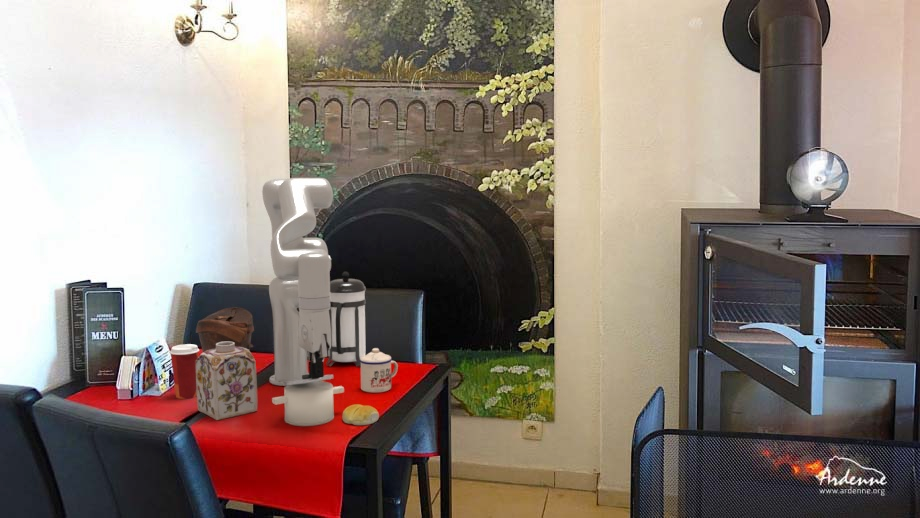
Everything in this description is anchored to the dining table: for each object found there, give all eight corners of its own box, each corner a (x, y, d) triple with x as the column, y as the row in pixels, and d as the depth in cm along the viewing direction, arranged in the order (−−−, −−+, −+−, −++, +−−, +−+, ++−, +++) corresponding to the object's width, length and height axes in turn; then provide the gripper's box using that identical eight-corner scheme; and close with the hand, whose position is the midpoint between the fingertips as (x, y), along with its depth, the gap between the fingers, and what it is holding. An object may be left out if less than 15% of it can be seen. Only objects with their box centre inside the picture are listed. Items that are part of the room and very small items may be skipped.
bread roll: (356, 413, 195) (356, 398, 194) (383, 419, 190) (383, 404, 189) (334, 422, 188) (334, 406, 187) (362, 428, 183) (362, 412, 182)
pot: (265, 418, 190) (264, 387, 189) (332, 405, 200) (331, 376, 200) (283, 432, 180) (283, 399, 179) (353, 417, 190) (352, 386, 190)
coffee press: (313, 362, 248) (311, 271, 245) (356, 355, 257) (354, 267, 254) (337, 373, 234) (335, 277, 231) (382, 365, 243) (381, 273, 240)
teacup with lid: (371, 395, 210) (371, 354, 209) (354, 388, 217) (353, 348, 216) (406, 387, 218) (406, 347, 217) (388, 380, 225) (387, 342, 224)
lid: (276, 385, 191) (275, 378, 191) (321, 378, 198) (320, 371, 198) (294, 385, 181) (293, 377, 181) (341, 377, 188) (340, 370, 188)
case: (204, 376, 230) (202, 318, 228) (191, 363, 247) (189, 308, 245) (262, 369, 239) (261, 313, 237) (246, 357, 256) (245, 305, 254)
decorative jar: (238, 401, 205) (236, 336, 203) (259, 411, 196) (256, 343, 194) (195, 411, 197) (192, 343, 195) (215, 421, 188) (212, 350, 186)
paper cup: (206, 393, 212) (204, 344, 211) (188, 401, 205) (186, 350, 203) (183, 391, 215) (181, 342, 213) (165, 398, 207) (162, 348, 206)
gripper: (288, 300, 187) (290, 373, 189) (312, 309, 175) (314, 386, 177) (316, 298, 191) (317, 368, 193) (342, 306, 179) (343, 381, 181)
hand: (316, 377), depth 185 cm, fingers closed
